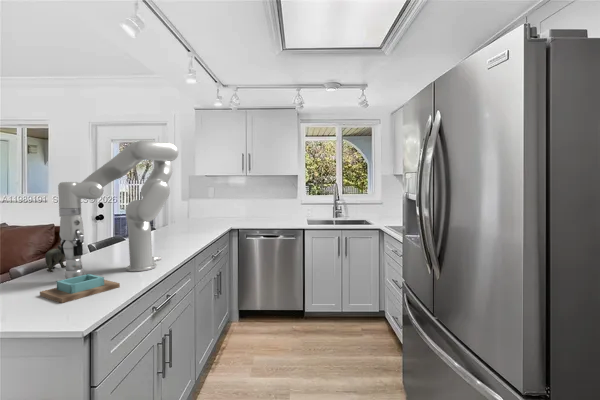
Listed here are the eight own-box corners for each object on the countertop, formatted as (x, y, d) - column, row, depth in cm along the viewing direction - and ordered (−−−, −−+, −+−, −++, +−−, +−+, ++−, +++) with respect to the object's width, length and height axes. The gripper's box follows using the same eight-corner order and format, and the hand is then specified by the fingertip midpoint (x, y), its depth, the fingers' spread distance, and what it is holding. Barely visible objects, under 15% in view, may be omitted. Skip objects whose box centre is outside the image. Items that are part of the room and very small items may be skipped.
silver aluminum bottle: (75, 283, 141) (72, 233, 140) (61, 283, 142) (58, 233, 141) (88, 279, 147) (85, 231, 146) (74, 278, 149) (71, 231, 147)
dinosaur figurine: (46, 276, 154) (44, 250, 153) (27, 276, 154) (25, 250, 153) (78, 264, 175) (77, 241, 175) (61, 264, 176) (60, 241, 175)
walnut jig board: (96, 281, 143) (96, 270, 143) (119, 287, 135) (119, 275, 135) (40, 295, 126) (39, 283, 126) (62, 303, 118) (61, 290, 118)
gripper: (91, 212, 142) (92, 255, 142) (69, 211, 151) (71, 251, 152) (71, 214, 135) (72, 258, 136) (49, 212, 144) (51, 254, 145)
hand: (71, 254), depth 144 cm, fingers open, 9 cm apart
